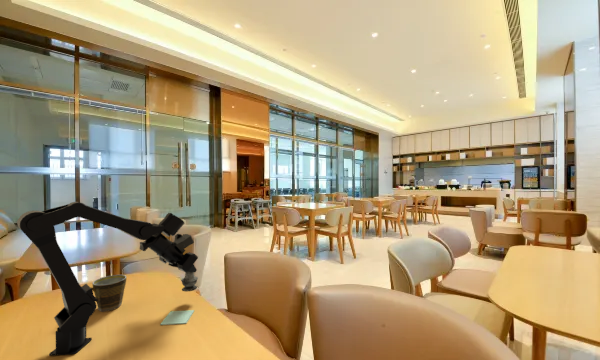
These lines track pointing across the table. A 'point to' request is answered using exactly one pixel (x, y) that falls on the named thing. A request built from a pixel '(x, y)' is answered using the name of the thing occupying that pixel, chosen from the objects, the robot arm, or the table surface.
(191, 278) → the grey stone tiered figure
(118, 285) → the ceramic cup
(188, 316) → the plate
